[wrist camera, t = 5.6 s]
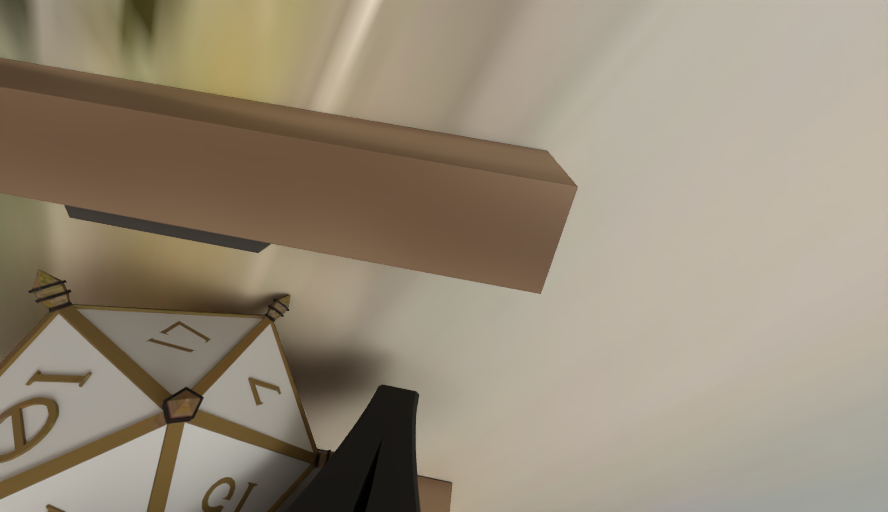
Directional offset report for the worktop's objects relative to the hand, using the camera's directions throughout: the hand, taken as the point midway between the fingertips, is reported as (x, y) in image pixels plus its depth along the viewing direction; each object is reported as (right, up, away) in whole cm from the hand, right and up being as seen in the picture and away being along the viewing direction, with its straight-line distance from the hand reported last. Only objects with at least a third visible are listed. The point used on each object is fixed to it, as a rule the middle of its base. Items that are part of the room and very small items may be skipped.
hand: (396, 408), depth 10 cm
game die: (-5, +2, +2) cm, 6 cm away
